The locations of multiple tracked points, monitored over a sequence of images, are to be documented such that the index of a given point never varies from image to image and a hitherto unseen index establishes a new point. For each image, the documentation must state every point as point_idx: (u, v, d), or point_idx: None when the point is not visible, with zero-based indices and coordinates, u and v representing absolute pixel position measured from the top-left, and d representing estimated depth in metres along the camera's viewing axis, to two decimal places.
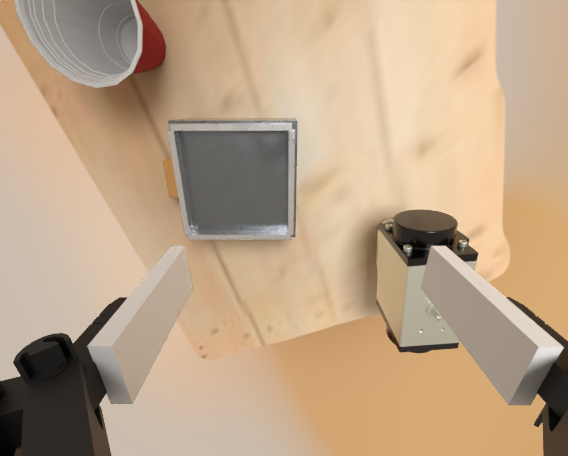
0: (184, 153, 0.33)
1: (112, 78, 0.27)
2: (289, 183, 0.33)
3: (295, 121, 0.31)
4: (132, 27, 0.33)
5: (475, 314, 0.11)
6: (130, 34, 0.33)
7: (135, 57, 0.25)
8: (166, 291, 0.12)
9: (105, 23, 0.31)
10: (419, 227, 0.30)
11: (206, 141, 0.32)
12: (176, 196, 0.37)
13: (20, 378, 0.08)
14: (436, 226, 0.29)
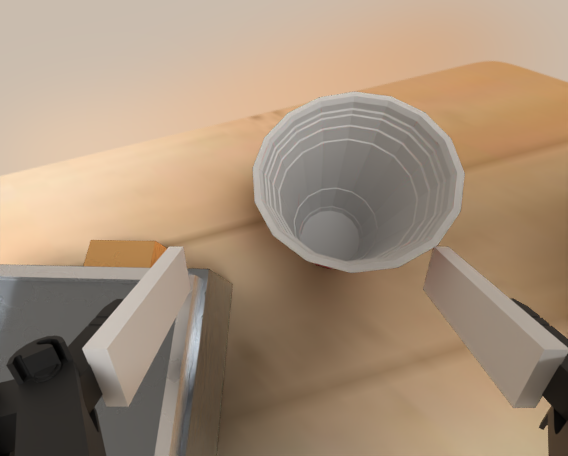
0: None
1: (268, 197, 0.15)
2: None
3: None
4: (348, 228, 0.25)
5: (479, 315, 0.11)
6: (340, 224, 0.25)
7: (296, 247, 0.13)
8: (163, 292, 0.12)
9: (351, 199, 0.24)
10: None
11: None
12: (89, 252, 0.20)
13: (14, 381, 0.08)
14: None
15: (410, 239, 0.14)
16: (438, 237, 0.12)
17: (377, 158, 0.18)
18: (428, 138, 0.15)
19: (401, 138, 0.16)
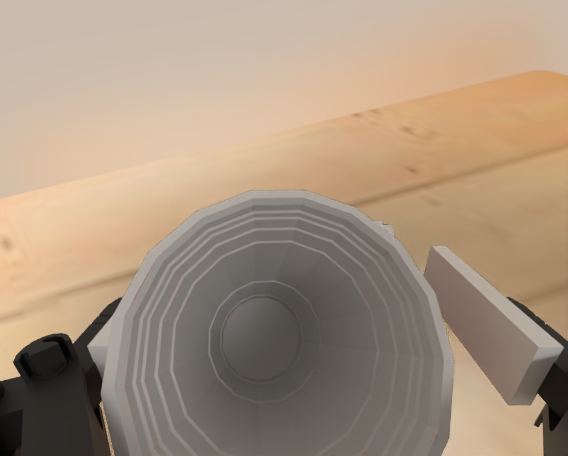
0: None
1: (141, 362, 0.09)
2: None
3: None
4: (286, 325, 0.19)
5: (475, 314, 0.11)
6: (277, 318, 0.19)
7: None
8: None
9: (292, 293, 0.18)
10: None
11: None
12: None
13: (20, 378, 0.08)
14: None
15: (367, 445, 0.09)
16: None
17: (329, 270, 0.13)
18: (402, 281, 0.10)
19: (364, 262, 0.11)
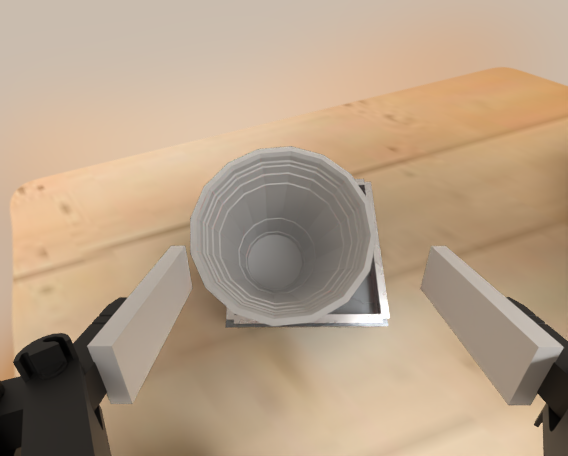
0: None
1: (206, 245, 0.16)
2: None
3: (386, 323, 0.25)
4: (292, 252, 0.27)
5: (475, 314, 0.11)
6: (285, 248, 0.27)
7: (226, 300, 0.14)
8: (166, 291, 0.12)
9: (295, 227, 0.25)
10: None
11: None
12: None
13: (20, 378, 0.08)
14: None
15: (331, 287, 0.16)
16: (349, 295, 0.14)
17: (314, 201, 0.20)
18: (352, 197, 0.17)
19: (332, 191, 0.18)
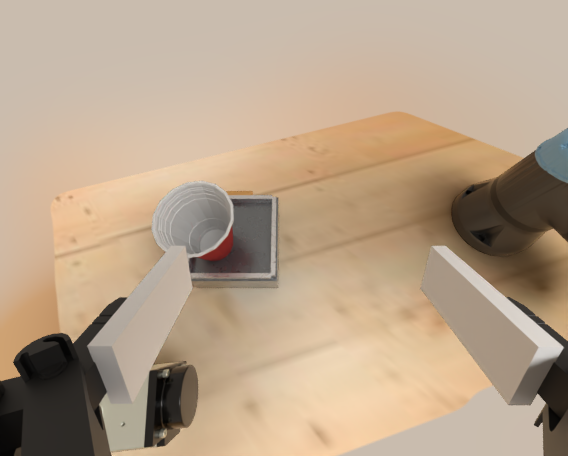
0: (257, 203, 0.48)
1: (160, 227, 0.35)
2: (232, 273, 0.42)
3: (276, 279, 0.43)
4: None
5: (475, 314, 0.11)
6: (222, 237, 0.45)
7: (164, 248, 0.33)
8: (166, 291, 0.12)
9: (224, 224, 0.44)
10: (185, 384, 0.32)
11: (264, 218, 0.47)
12: None
13: (20, 378, 0.08)
14: (184, 402, 0.31)
15: (217, 245, 0.35)
16: (216, 245, 0.33)
17: (221, 207, 0.39)
18: (228, 203, 0.35)
19: (223, 200, 0.37)
